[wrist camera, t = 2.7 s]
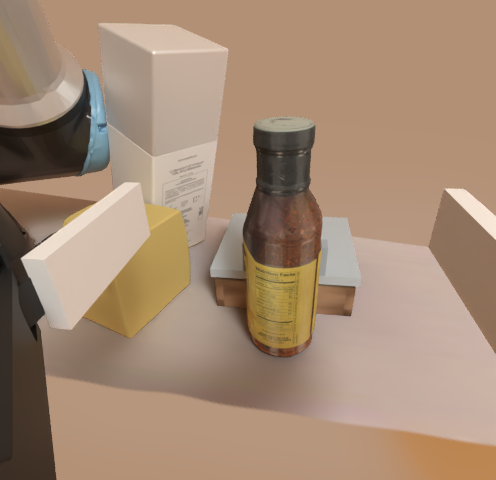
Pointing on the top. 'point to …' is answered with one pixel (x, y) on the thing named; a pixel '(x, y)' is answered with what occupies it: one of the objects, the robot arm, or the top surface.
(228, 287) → the brown flat block
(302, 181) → the sauce bottle
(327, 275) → the lid
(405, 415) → the top surface
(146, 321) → the cheese
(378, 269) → the top surface
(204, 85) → the tall white carton
